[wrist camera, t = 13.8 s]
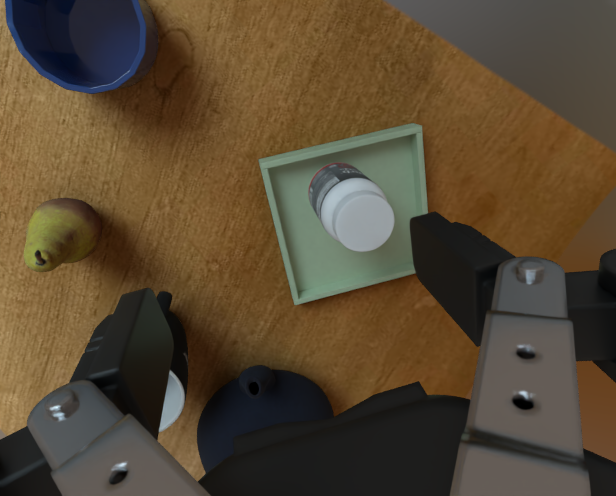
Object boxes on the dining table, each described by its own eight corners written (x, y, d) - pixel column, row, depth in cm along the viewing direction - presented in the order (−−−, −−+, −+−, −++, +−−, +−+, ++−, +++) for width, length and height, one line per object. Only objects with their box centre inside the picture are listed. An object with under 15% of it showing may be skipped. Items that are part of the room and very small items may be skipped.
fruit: (30, 196, 36) (-57, 251, 25) (98, 185, 36) (42, 235, 25) (54, 253, 38) (-16, 326, 27) (118, 242, 39) (74, 309, 28)
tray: (258, 159, 38) (259, 163, 36) (413, 122, 39) (422, 125, 37) (292, 295, 44) (294, 305, 42) (424, 261, 45) (432, 269, 44)
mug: (179, 372, 46) (166, 448, 36) (94, 353, 43) (58, 430, 34) (216, 283, 42) (212, 342, 33) (126, 255, 39) (95, 312, 30)
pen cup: (20, -21, 30) (-22, -39, 25) (135, -43, 30) (117, -65, 25) (70, 99, 33) (43, 104, 28) (173, 77, 34) (163, 78, 29)
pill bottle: (375, 179, 40) (416, 211, 31) (343, 227, 41) (374, 270, 33) (327, 149, 38) (357, 174, 29) (295, 200, 39) (314, 239, 31)
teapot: (333, 457, 56) (359, 554, 45) (219, 483, 54) (216, 591, 43) (316, 302, 45) (345, 378, 34) (174, 329, 43) (155, 418, 32)
